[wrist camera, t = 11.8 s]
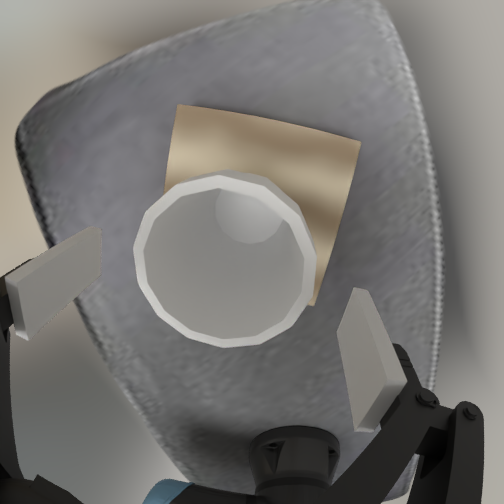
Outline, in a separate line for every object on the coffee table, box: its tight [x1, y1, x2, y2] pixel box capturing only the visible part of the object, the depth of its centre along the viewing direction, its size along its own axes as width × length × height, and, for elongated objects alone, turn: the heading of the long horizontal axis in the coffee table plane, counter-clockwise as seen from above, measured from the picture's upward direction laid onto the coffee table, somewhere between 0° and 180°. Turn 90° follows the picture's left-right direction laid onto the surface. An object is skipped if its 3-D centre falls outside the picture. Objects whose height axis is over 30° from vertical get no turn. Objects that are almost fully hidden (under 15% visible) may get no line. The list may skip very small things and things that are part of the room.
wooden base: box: [163, 104, 361, 306], centre depth 30 cm, size 16×16×4 cm
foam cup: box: [133, 169, 317, 348], centre depth 22 cm, size 10×9×13 cm
